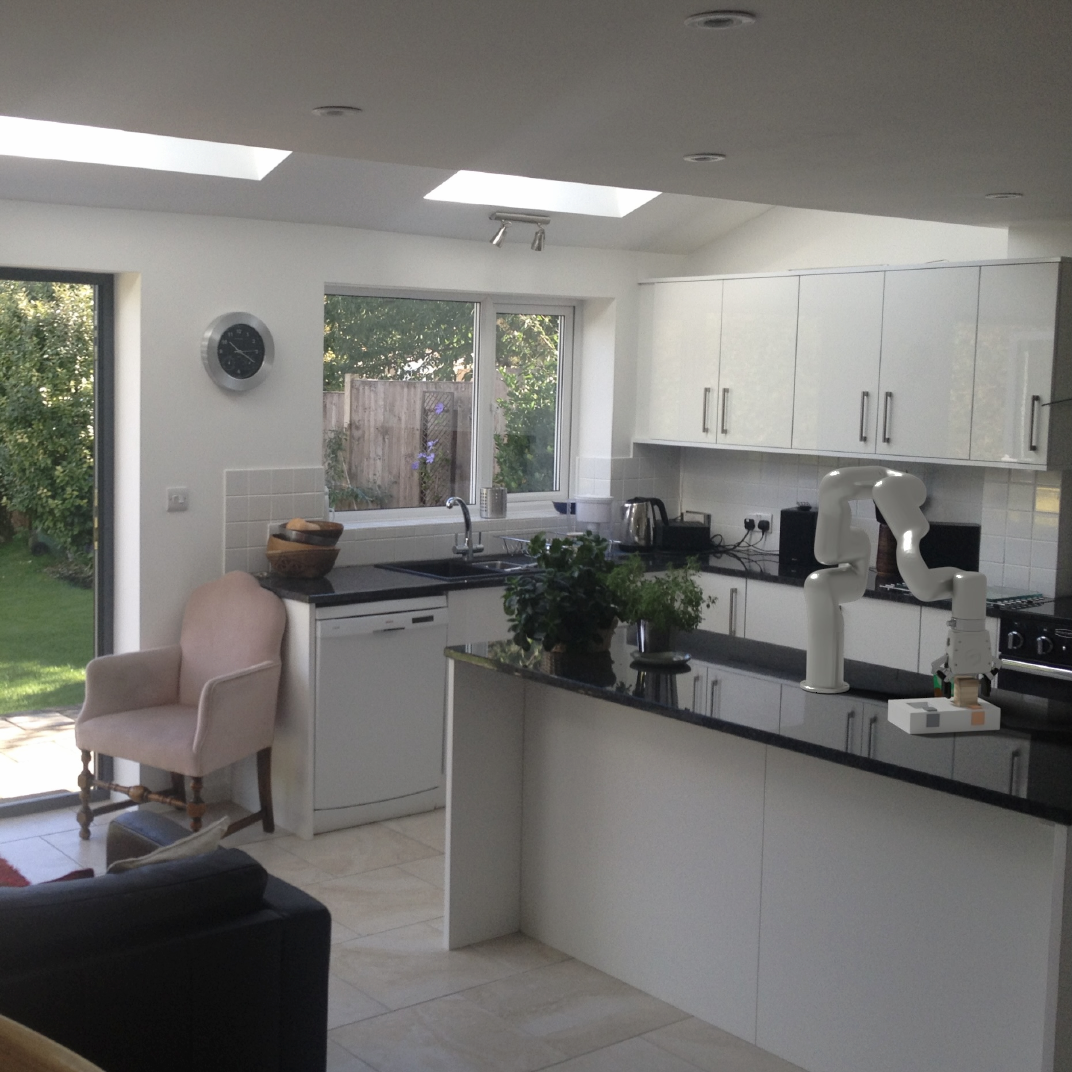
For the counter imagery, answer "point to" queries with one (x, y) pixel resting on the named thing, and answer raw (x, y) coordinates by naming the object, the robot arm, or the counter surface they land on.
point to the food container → (938, 683)
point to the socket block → (942, 715)
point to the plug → (965, 690)
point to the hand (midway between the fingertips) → (965, 696)
